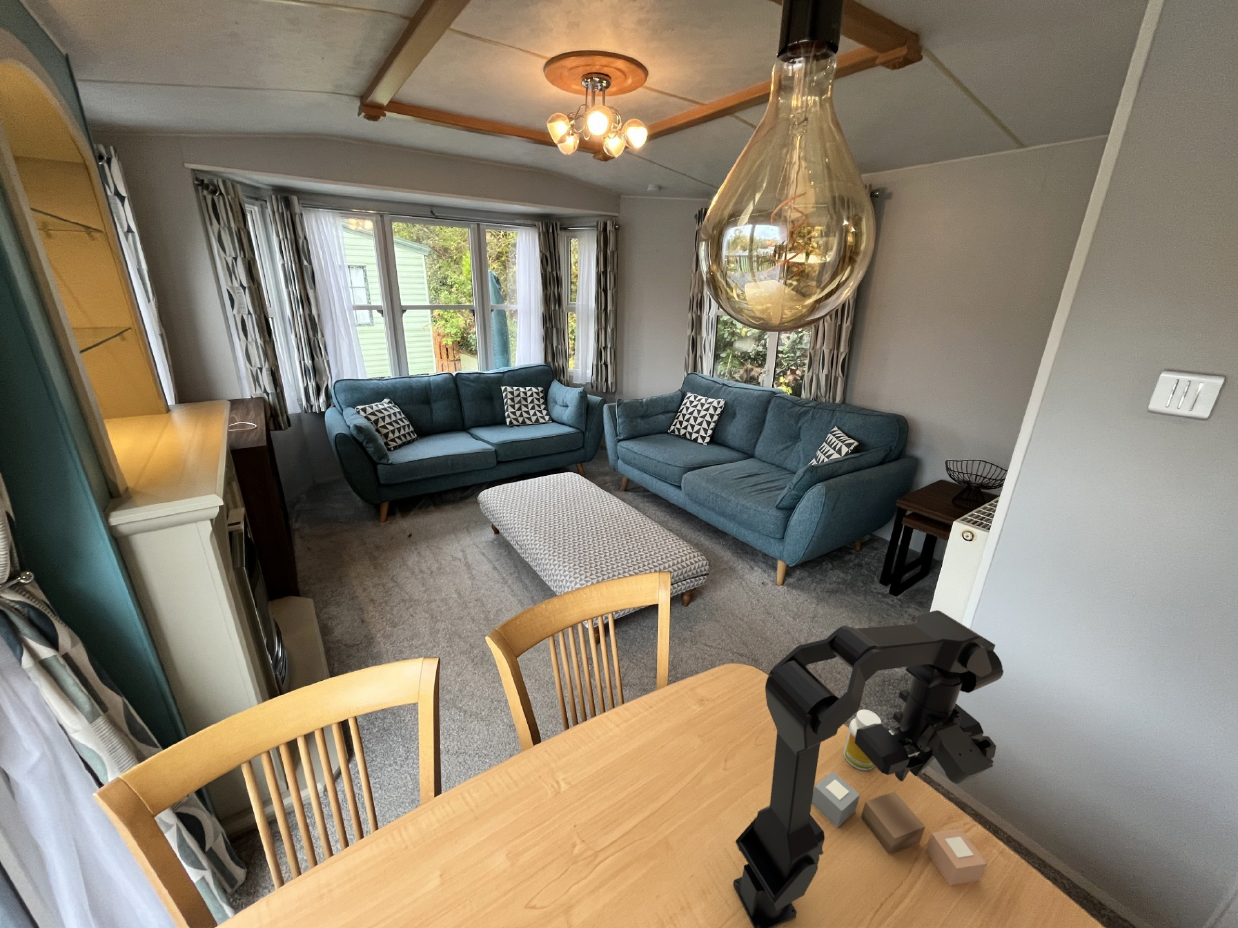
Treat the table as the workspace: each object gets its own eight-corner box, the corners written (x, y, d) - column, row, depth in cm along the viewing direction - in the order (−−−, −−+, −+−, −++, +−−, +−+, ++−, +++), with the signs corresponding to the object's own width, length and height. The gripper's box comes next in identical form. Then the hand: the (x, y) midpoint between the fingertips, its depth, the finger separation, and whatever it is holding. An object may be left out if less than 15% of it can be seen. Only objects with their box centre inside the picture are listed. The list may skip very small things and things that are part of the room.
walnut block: (889, 855, 78) (894, 838, 77) (860, 818, 83) (865, 801, 82) (919, 843, 80) (925, 826, 78) (889, 808, 85) (894, 791, 84)
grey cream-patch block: (837, 828, 82) (842, 809, 80) (810, 802, 85) (814, 784, 84) (855, 811, 84) (860, 793, 83) (828, 787, 88) (833, 770, 87)
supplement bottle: (878, 774, 91) (889, 733, 87) (846, 768, 92) (856, 727, 88) (870, 748, 96) (881, 708, 92) (840, 743, 97) (849, 703, 93)
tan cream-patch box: (949, 886, 74) (957, 867, 73) (925, 850, 79) (931, 831, 77) (979, 881, 75) (987, 862, 73) (953, 845, 80) (960, 827, 78)
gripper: (931, 763, 62) (902, 849, 67) (1036, 724, 68) (1002, 806, 73) (862, 695, 72) (842, 775, 77) (959, 667, 77) (934, 743, 83)
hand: (906, 776), depth 77 cm, fingers open, 3 cm apart
